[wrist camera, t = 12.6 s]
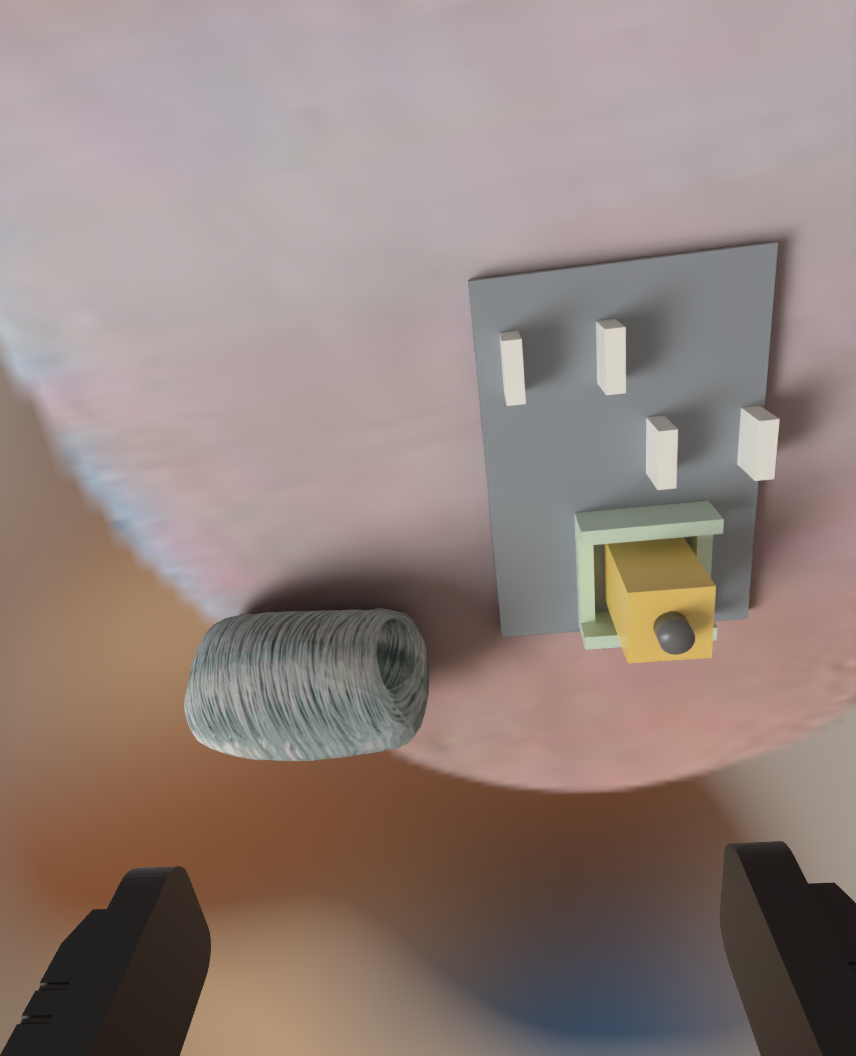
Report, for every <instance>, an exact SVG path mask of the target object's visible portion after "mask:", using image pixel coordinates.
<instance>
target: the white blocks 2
mask: <svg viewBox="0 0 856 1056" xmlns="http://www.w3.org/2000/svg"><path fill="white" fill-rule="evenodd" d="M779 421H780V419H779V418H777V417H776V416H774V415H773V414H771V413H770V412H768V411H767V410H765V409H764V408H763V407H761V406H751V407H741V414H740V429H739V444H738V458H737V465H738V466H739V467H741V468H742V469H743V470H744V471H745V472H746V473H747V474H748V475H749V476H750V477H751V478H752V479H753V480H754V481H761V480H771V479H774V475H775V464H776V453H777V442H778V432H779ZM677 448H678V429H677V428H676V427H675V426H674V425H673V424H672V423H671V422H670V420H669V419H668V418H667V417H666V416H665V415H664V416H655V417H646V474H647V475H648V477H649V478H650V480H651V481H652V483H653V484H654V486H655V487H656V489H657V490H665V489H675V488H676V483H677Z"/></svg>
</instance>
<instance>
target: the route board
mask: <svg viewBox="0 0 856 1056" xmlns="http://www.w3.org/2000/svg"><path fill="white" fill-rule="evenodd" d="M777 251H778V243H777V242H766V243H758V244H750V245H742V246H734V247H726V248H718V249H710V250H702V251H694V252H686V253H678V254H670V255H662V256H654V257H646V258H638V259H630V260H623V261H615V262H607V263H599V264H591V265H583V266H575V267H567V268H559V269H551V270H543V271H535V272H527V273H519V274H511V275H503V276H495V277H487V278H479V279H471V280H468V282H469V293H470V303H471V314H472V325H473V335H474V346H475V357H476V367H477V378H478V388H479V399H480V410H481V420H482V431H483V442H484V452H485V463H486V474H487V484H488V495H489V506H490V516H491V527H492V538H493V548H494V559H495V570H496V580H497V591H498V602H499V612H500V623H501V634H502V637H512V636H525V635H539V634H552V633H565V632H578V631H580V628H579V618H578V592H577V566H576V540H575V514H574V513H579V512H590V511H601V510H611V509H622V508H633V507H644V506H655V505H666V504H677V503H688V502H699V501H709V502H710V503H711V504H712V506H713V507H714V508H715V509H716V510H717V512H718V513H719V514H720V515H721V516H722V518H723V519H724V525H723V534H714V535H713V547H712V566H711V579H712V581H713V582H714V584H715V585H716V595H715V611H714V621H724V620H738V619H748V606H749V594H750V582H751V570H752V557H753V545H754V533H755V521H756V508H757V496H758V484H759V481H754V480H753V479H752V478H751V477H750V476H749V475H748V474H747V473H746V472H745V471H744V470H743V469H742V468H741V467H739V466H738V465H737V458H738V444H739V429H740V414H741V407H751V406H761V407H763V408H764V409H765V398H766V386H767V373H768V361H769V349H770V337H771V324H772V312H773V300H774V287H775V275H776V263H777ZM610 319H616V320H617V321H618V322H620V323H621V324H622V325H624V326H625V327H626V393H624V394H615V395H605V393H604V392H603V390H602V389H601V388H600V386H599V385H598V384H597V351H596V321H602V320H610ZM517 330H518V332H519V334H520V336H521V339H522V351H523V367H524V382H525V397H526V404H522V405H512V406H507V405H506V400H505V395H504V386H503V373H502V360H501V347H500V335H499V333H500V332H509V331H517ZM664 415H665V416H666V417H667V418H668V419H669V420H670V422H671V423H672V424H673V425H674V426H675V427H676V428H677V429H678V448H677V483H676V488H675V489H665V490H657V489H656V487H655V486H654V484H653V483H652V481H651V480H650V478H649V477H648V475H647V474H646V417H655V416H664ZM691 537H692V536H691ZM691 537H684V538H685V540H686V541H687V543H688V544H689V546H690V547H691ZM593 552H594V590H595V613H597V612H609V609H608V607H607V604H606V601H605V549H604V544H599V545H593Z"/></svg>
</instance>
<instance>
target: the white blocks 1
mask: <svg viewBox="0 0 856 1056" xmlns="http://www.w3.org/2000/svg"><path fill="white" fill-rule="evenodd" d="M499 335H500V347H501V360H502V373H503V386H504V395H505V400H506V405H507V406H512V405H522V404H526V397H525V382H524V367H523V351H522V339H521V336H520V334H519V332H518V330H517V331H509V332H500V333H499ZM596 351H597V384H598V385H599V386H600V388H601V389H602V390H603V392H604V393H605V395H615V394H624V393H626V327H625V326H624V325H622V324H621V323H620V322H618V321H617V320H616V319H610V320H602V321H596Z"/></svg>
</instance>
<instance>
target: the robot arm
mask: <svg viewBox="0 0 856 1056" xmlns="http://www.w3.org/2000/svg"><path fill="white" fill-rule="evenodd" d="M720 925H721V933H722V938H723V943H724V948H725V951H726V955H727V959H728V962H729V965H730V968H731V971H732V974H733V977H734V980H735V983H736V986H737V988H738V991H739V994H740V997H741V1000H742V1003H743V1005H744V1009H745V1011H746V1014H747V1017H748V1020H749V1023H750V1026H751V1029H752V1031H753V1034H754V1037H755V1040H756V1043H757V1046H758V1049H759V1051H760V1055H761V1056H856V903H855V902H854V901H853V900H852V899H851V898H850V897H849V896H848V895H847V894H846V893H845V892H844V891H843V890H842V889H841V888H840V887H839V886H837V885H836V884H835V883H815V884H808V883H807V881H806V879H805V877H804V875H803V873H802V871H801V869H800V867H799V865H798V863H797V861H796V859H795V857H794V855H793V853H792V852H791V850H790V848H789V847H788V846H787V845H786V844H785V843H784V842H782V841H775V842H756V843H755V842H753V843H733V844H732V843H731V844H727V845H726V847H725V853H724V866H723V879H722V891H721V904H720ZM210 953H211V939H210V932H209V928H208V926H207V923H206V920H205V918H204V915H203V912H202V910H201V907H200V905H199V902H198V899H197V897H196V894H195V892H194V889H193V887H192V884H191V881H190V879H189V876H188V874H187V872H186V870H185V869H184V868H183V867H178V866H177V867H157V868H136V869H132V870H130V871H129V872H128V873H127V874H126V875H125V876H124V877H123V879H122V881H121V882H120V884H119V886H118V888H117V890H116V892H115V894H114V896H113V898H112V900H111V902H110V904H109V906H108V908H107V909H97V910H92V911H91V912H90V913H89V914H88V915H87V916H86V917H85V919H84V920H83V921H82V922H81V923H80V924H79V925H78V926H77V927H76V928H75V929H74V930H73V932H72V933H71V934H70V935H69V936H68V937H67V938H66V939H65V940H64V941H63V942H62V943H61V945H60V947H59V949H58V951H57V952H56V954H55V956H54V958H53V960H52V962H51V963H50V965H49V967H48V969H47V971H46V972H45V974H44V976H43V978H42V980H41V982H40V988H39V990H38V991H35V993H34V994H33V996H32V998H31V1000H30V1002H29V1003H28V1005H27V1007H26V1009H25V1011H24V1013H23V1015H22V1021H21V1023H20V1024H17V1025H16V1027H15V1029H14V1031H13V1033H12V1034H11V1036H10V1038H9V1040H8V1042H7V1044H6V1046H5V1047H4V1049H3V1051H2V1053H1V1055H0V1056H180V1053H181V1050H182V1047H183V1044H184V1041H185V1038H186V1035H187V1032H188V1029H189V1026H190V1023H191V1021H192V1017H193V1015H194V1011H195V1008H196V1006H197V1003H198V1000H199V997H200V994H201V991H202V988H203V985H204V982H205V979H206V975H207V972H208V968H209V962H210Z"/></svg>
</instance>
